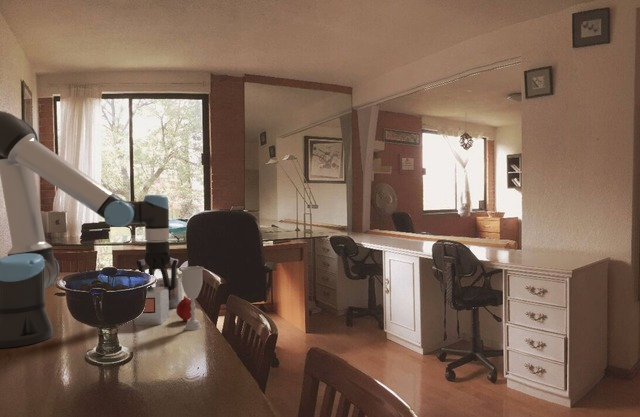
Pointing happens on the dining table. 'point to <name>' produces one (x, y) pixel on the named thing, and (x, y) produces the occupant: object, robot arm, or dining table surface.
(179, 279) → the socket
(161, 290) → the plate
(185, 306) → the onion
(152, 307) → the pink square post
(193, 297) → the chalice
